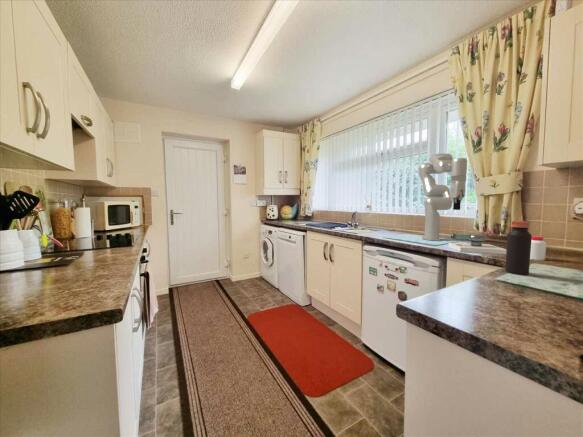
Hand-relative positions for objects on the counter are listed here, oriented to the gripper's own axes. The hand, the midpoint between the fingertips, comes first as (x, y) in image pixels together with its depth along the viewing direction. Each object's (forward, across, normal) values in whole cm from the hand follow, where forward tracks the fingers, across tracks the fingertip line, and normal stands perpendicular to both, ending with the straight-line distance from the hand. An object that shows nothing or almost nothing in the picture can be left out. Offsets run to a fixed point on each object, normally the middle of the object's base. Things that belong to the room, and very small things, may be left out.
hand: (456, 209), depth 146 cm
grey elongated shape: (+20, +7, +4) cm, 22 cm away
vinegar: (+23, +56, 0) cm, 60 cm away
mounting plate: (+23, +7, +8) cm, 26 cm away
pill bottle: (+23, +24, +26) cm, 42 cm away
